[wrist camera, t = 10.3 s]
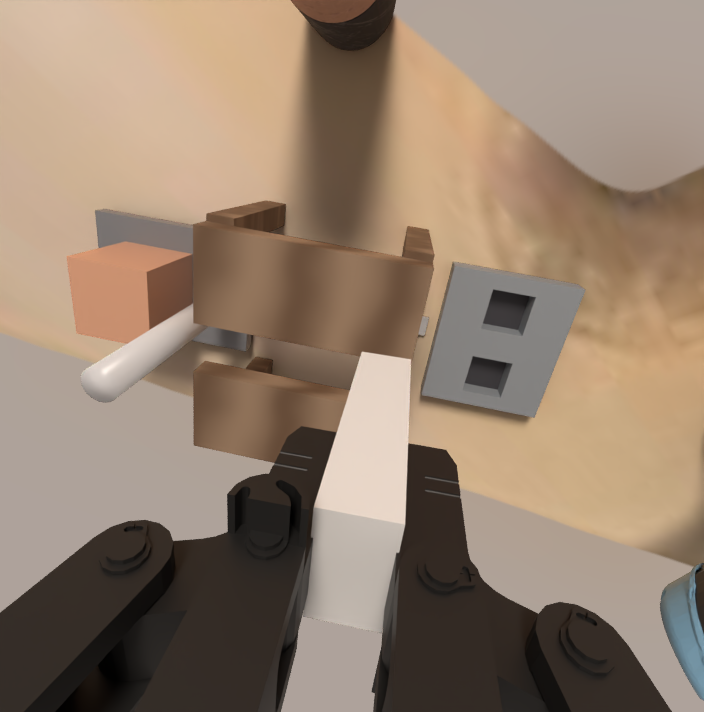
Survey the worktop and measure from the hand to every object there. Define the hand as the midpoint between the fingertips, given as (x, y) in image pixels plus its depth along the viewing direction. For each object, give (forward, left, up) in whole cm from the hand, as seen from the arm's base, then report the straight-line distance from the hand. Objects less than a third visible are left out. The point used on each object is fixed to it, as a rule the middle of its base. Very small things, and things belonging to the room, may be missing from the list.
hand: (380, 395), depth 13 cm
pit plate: (-11, +8, -31) cm, 34 cm away
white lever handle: (+22, +8, -31) cm, 39 cm away
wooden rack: (+14, +8, -31) cm, 35 cm away
